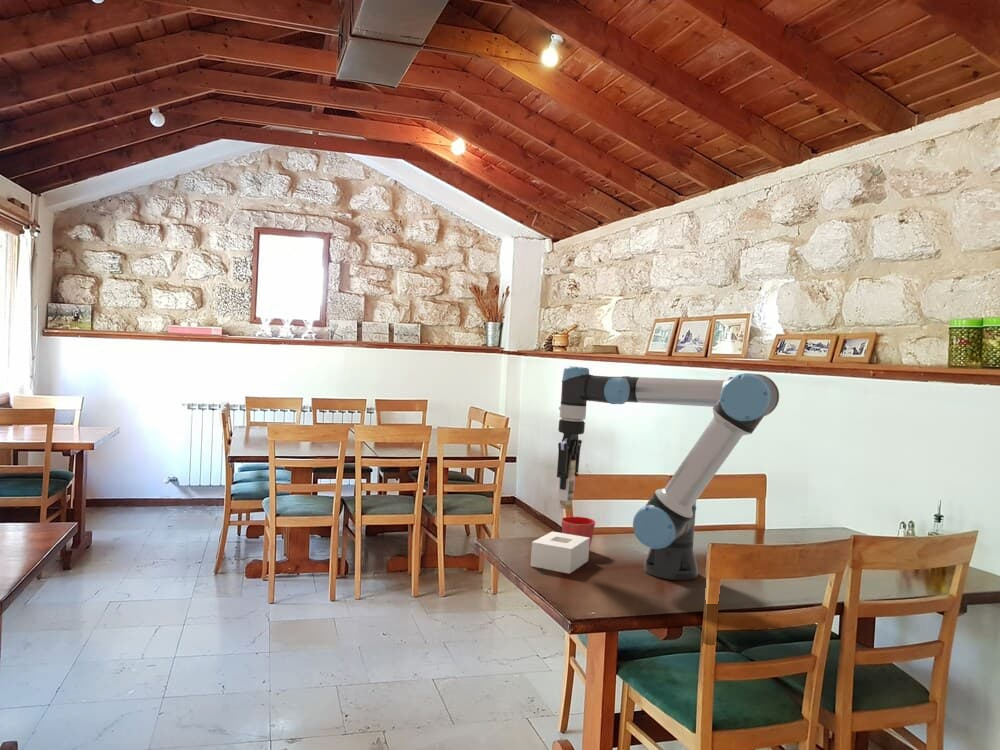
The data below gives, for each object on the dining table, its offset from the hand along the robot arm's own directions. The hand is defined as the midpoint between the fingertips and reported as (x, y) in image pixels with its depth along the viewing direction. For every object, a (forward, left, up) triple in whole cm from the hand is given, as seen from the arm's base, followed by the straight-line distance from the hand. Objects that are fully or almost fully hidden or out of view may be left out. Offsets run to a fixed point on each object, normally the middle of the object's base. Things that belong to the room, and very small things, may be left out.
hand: (565, 498), depth 219 cm
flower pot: (+2, -17, -19) cm, 26 cm away
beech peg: (0, 0, -3) cm, 3 cm away
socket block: (+1, 0, -19) cm, 19 cm away
